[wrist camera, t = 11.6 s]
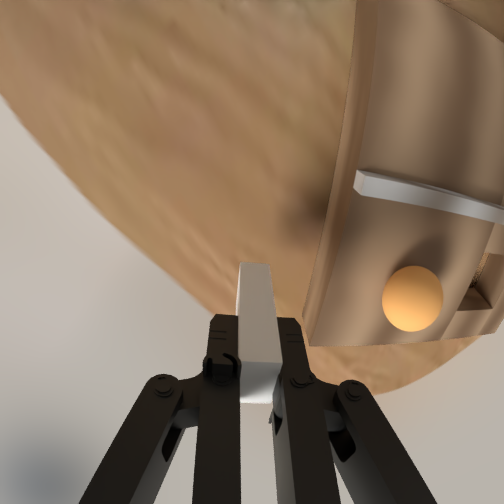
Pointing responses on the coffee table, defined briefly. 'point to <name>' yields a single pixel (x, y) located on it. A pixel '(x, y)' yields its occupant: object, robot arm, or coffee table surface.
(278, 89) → the coffee table surface
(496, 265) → the putting board
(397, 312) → the orange ball
